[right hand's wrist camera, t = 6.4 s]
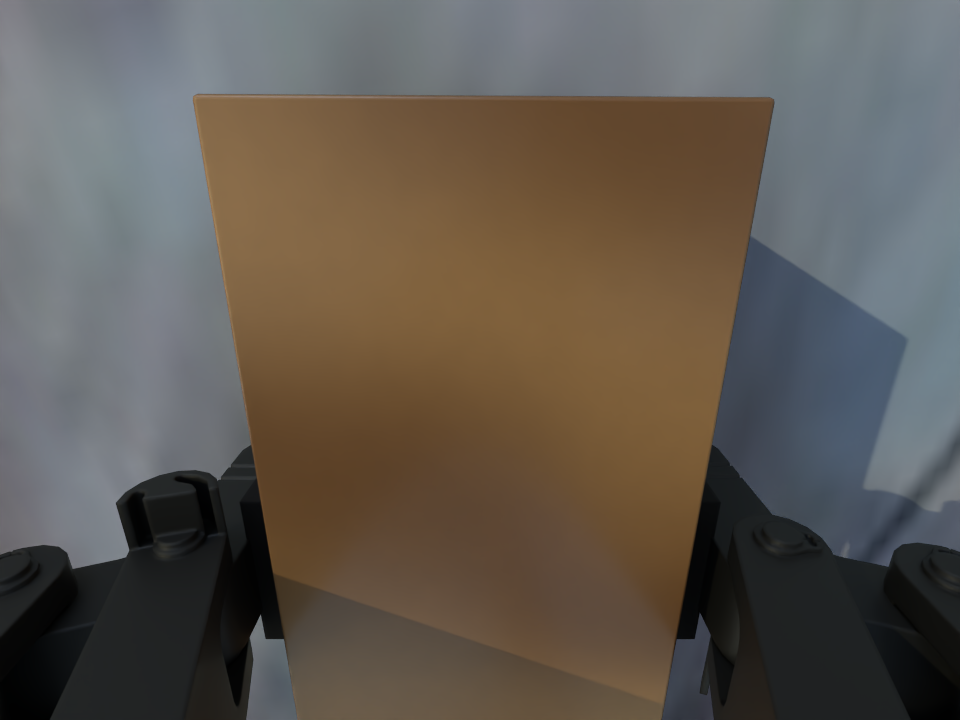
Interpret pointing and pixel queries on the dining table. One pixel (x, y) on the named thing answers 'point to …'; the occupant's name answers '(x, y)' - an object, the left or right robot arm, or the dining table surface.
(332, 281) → the bar
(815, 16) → the dining table surface
